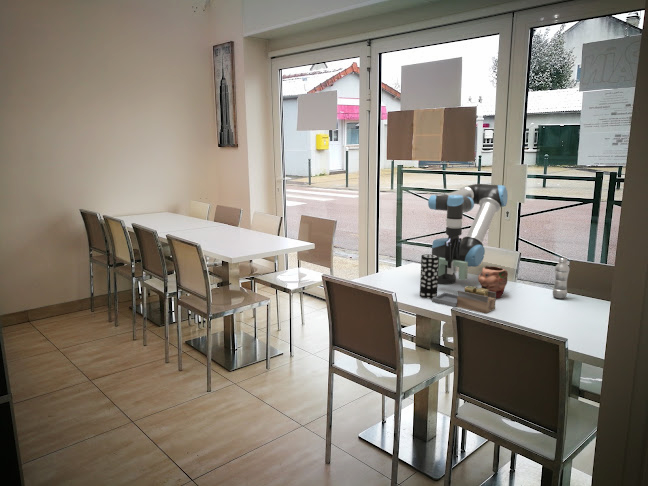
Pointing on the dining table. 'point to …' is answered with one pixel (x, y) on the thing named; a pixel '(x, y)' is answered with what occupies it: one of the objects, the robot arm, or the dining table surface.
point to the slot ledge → (476, 301)
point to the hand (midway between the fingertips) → (451, 273)
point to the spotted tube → (429, 276)
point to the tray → (446, 299)
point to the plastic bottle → (561, 278)
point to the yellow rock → (482, 292)
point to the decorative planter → (493, 279)
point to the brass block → (471, 289)
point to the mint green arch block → (461, 264)
